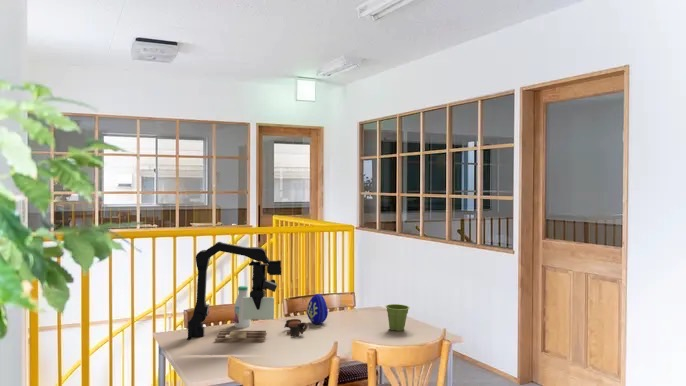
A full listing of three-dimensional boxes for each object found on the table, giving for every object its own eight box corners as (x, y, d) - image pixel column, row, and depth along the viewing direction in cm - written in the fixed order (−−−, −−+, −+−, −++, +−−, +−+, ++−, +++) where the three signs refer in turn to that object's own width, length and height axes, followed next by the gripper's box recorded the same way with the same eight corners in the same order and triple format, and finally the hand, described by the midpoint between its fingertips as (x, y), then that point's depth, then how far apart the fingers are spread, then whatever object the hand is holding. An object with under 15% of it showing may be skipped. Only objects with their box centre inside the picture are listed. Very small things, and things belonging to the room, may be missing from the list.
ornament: (303, 322, 275) (304, 293, 275) (317, 319, 281) (318, 291, 281) (317, 326, 267) (318, 296, 267) (331, 323, 273) (331, 294, 273)
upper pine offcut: (229, 336, 236) (229, 333, 236) (230, 334, 239) (230, 331, 239) (245, 336, 236) (245, 333, 236) (246, 334, 239) (246, 331, 239)
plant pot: (401, 334, 256) (401, 310, 256) (380, 329, 263) (380, 306, 263) (413, 329, 266) (414, 306, 266) (393, 325, 273) (393, 303, 273)
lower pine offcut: (224, 341, 235) (225, 336, 235) (226, 339, 239) (226, 334, 239) (245, 341, 236) (245, 336, 236) (246, 339, 239) (246, 334, 239)
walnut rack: (214, 344, 234) (214, 338, 234) (219, 335, 249) (219, 329, 249) (264, 344, 235) (264, 338, 235) (267, 335, 250) (267, 329, 250)
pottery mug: (280, 337, 249) (280, 320, 253) (290, 341, 256) (289, 324, 260) (304, 333, 245) (303, 315, 249) (312, 337, 253) (312, 320, 257)
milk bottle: (251, 325, 266) (252, 285, 267) (249, 329, 259) (249, 287, 259) (236, 325, 266) (236, 285, 267) (233, 329, 258) (233, 287, 259)
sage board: (242, 319, 245) (243, 297, 245) (243, 318, 247) (243, 296, 247) (273, 319, 246) (273, 297, 246) (273, 318, 248) (274, 297, 248)
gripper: (275, 278, 238) (274, 313, 238) (277, 272, 256) (277, 304, 256) (250, 278, 237) (249, 313, 237) (254, 271, 255) (253, 304, 256)
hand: (258, 309), depth 246 cm, fingers closed on sage board, 2 cm apart
